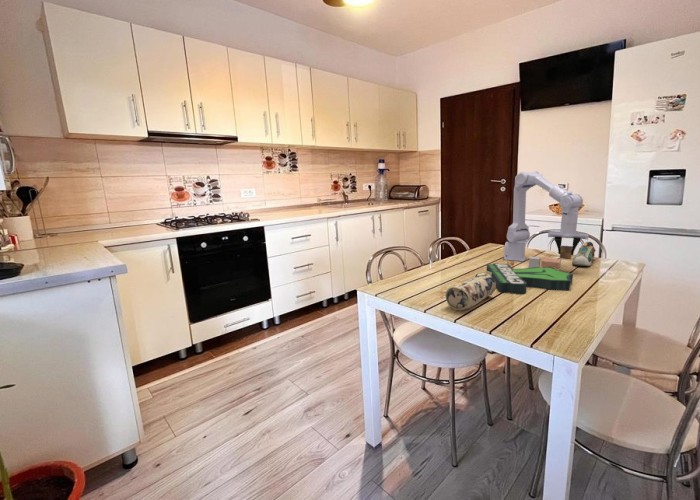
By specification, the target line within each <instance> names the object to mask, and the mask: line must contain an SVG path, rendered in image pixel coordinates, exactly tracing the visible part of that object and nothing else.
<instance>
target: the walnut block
mask: <svg viewBox="0 0 700 500" xmlns="http://www.w3.org/2000/svg"><path fill="white" fill-rule="evenodd" d="M572 246H573V245H572ZM572 246H571V245H570V246H569V245H561V250H560V254H559V259H561V260H572V255H571V252H572Z"/></svg>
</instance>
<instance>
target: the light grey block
mask: <svg viewBox="0 0 700 500" xmlns="http://www.w3.org/2000/svg"><path fill="white" fill-rule="evenodd" d="M528 259H529V261H528V268H533V267H541V256H540V257H539V256H530V257H529V258H528Z"/></svg>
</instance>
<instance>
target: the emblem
mask: <svg viewBox="0 0 700 500" xmlns="http://www.w3.org/2000/svg"><path fill="white" fill-rule="evenodd" d="M486 271H489V272H492V275H491V277H492V278H493V279H494V280H495V282H496V287H495V289H496V290H497V291H498V292H499V293H502V294H503V293H504V294H511V295H525V294H526V293H527V288H533V289H542V290H543V289H544V290H549V291H570V290H571V285H572V284H573V278H574V273H571V272H567V271H562V270H560V269H558V268H552V267H542V266H540V267H533V268H529V267H525V268H513V267H512V266H511V265H510V264H508V263H494V262H493V263H487V264H486Z"/></svg>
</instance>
